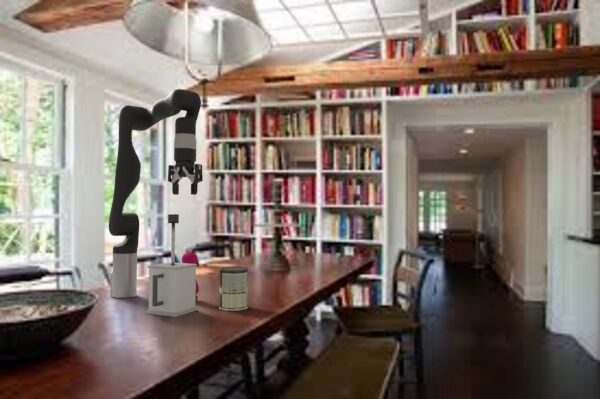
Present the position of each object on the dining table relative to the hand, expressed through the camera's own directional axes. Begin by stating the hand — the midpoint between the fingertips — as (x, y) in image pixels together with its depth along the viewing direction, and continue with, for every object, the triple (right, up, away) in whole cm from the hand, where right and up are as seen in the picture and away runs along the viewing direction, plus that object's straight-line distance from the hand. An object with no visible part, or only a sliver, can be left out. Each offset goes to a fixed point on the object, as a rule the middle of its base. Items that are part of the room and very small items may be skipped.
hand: (184, 194), depth 178 cm
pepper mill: (-2, -41, +17) cm, 44 cm away
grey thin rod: (-3, -29, -3) cm, 29 cm away
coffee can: (+16, -40, +5) cm, 44 cm away
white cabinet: (-4, -40, -5) cm, 40 cm away
